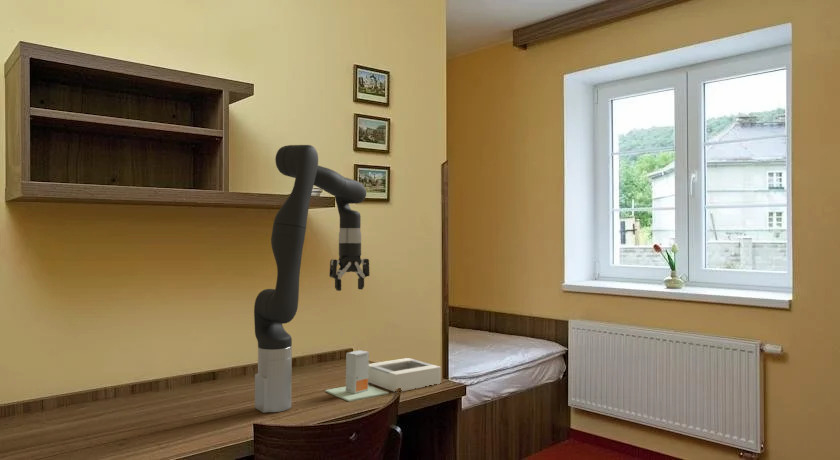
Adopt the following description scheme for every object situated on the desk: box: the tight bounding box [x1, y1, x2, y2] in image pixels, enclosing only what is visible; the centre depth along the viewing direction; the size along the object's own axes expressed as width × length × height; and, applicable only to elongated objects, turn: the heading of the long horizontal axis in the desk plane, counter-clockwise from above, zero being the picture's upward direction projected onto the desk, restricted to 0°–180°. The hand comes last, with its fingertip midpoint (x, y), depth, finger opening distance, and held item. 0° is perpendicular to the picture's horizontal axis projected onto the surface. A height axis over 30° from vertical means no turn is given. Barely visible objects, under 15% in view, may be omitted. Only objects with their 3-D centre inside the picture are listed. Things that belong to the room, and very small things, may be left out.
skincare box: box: [345, 349, 370, 394], centre depth 184 cm, size 6×4×12 cm
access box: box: [368, 357, 442, 393], centre depth 197 cm, size 18×18×6 cm
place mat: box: [325, 384, 389, 402], centre depth 184 cm, size 14×14×1 cm
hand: (349, 289), depth 201 cm, fingers open, 8 cm apart
